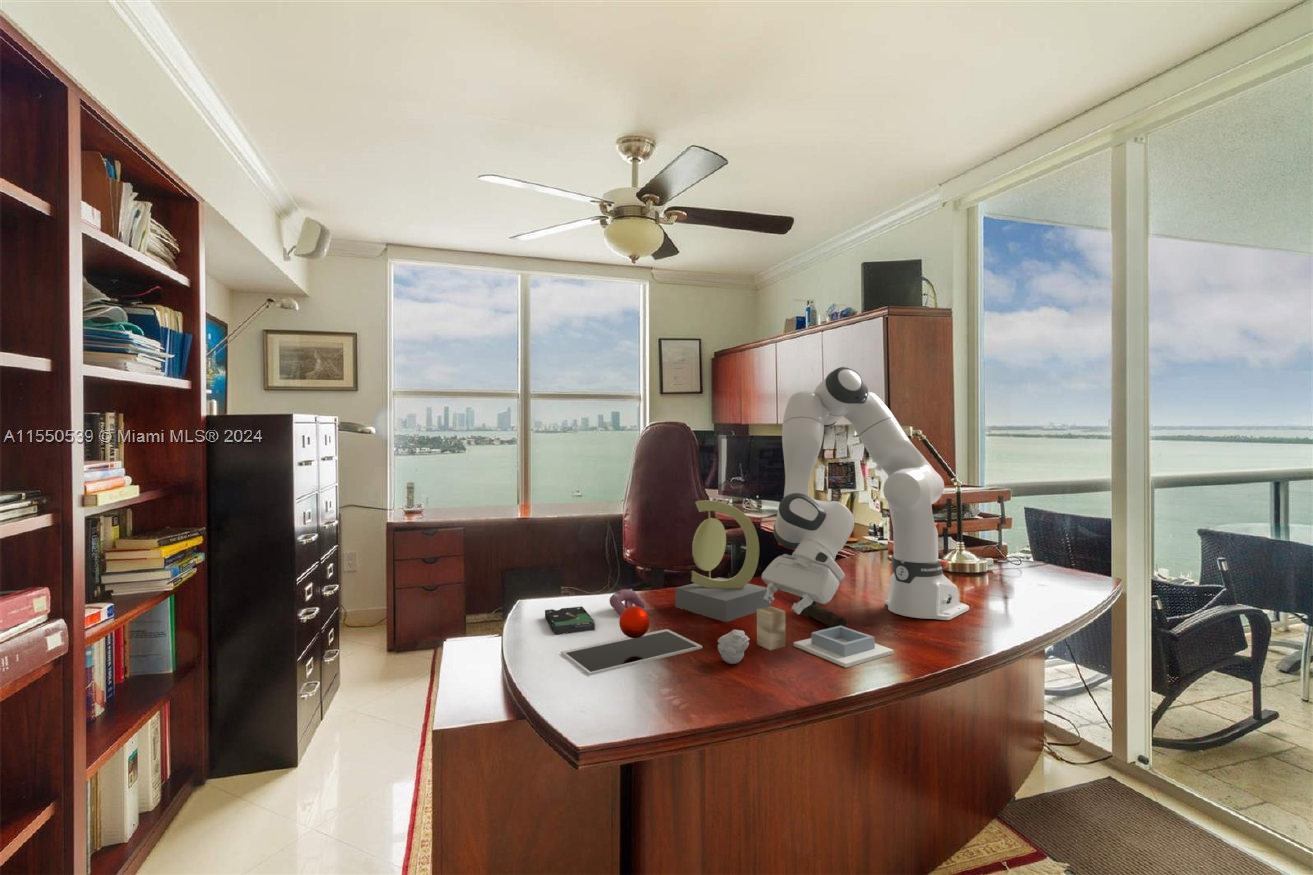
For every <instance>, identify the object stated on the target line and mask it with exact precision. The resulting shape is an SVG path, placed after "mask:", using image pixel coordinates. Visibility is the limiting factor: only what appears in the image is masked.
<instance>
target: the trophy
mask: <svg viewBox="0 0 1313 875" xmlns="http://www.w3.org/2000/svg"><path fill="white" fill-rule="evenodd" d="M695 506H696V508H697V511H698V512H699V513H702V512H708V518H707V519H704V520H703V521H702V522H700V524H699V526H698V527H697V528H696V530H695V533H694V535H693V540H692V544H691V547H692V548H691V550H692V551H691V552H692V553H691V555H692V559H693V562H694V563H695V566H696V567H697V568H698V569H700V571H707V572H708V576H705V575H703V574H700V573H698V572H696V571H694V570H692V572H691V580H690V581H691V582H692V583H690V584H686V585H682V586H678V587H675V597H674V598H675V602H674V603H675V605H674V606H675V608H676V607H678V608H677V609H679V608H680V610H683V609H685V610H684V611H686V610H688V611H687V612H689V611H691V612H690V613H693V614H697V615H700V614H701V615H700V616H704V617H707V618H711V619H713V618H714V619H713V620H717V621H721V622H723V623H724V622H725V623H728V622H731V621H734V619H735V620H737V618H738V619H741V618H744V617H746V615H747V616H749V615H748V614H750V615H753V614H756V613H757V609H761V608H766V607H771V604H769V603H766V602H765V601H764V596H765V595H766V593H767V586H766V587H765V586H761V585H757V584H751V583H750V582H751V580H752V579H753V577H754V575H755V573H756V570H757V569H758V564H759V560H760V559H759V558H760V542H759V541H760V540H759V536H758V533H757V530H756V528H755V525H754V523H753V522H752V520H751V519H750V518H749V517H748V516H747V514H745V513H744V512H743V511H741V510H740V509H739V508H737V507H735V506H733V505H731V504H728V503H725V502H722V501H717V500H706V499H705V500H697V501H695ZM711 512H718V513H723V514H724V515H725V514H726V515H727V516H729V517H731V518H733V520H735V521H736V522H737V524H738V525H739V526H740V528H741V530H742V531H743V534H744V537H745V543H746V544H745V545H746V548H745V557H744V558H745V559H744V561H743V565H742V567H741V569H740V570H739V571H738V573H737V574H736V575H734V576H733V577H731V578H724V577H715V578H712V577H711V575H712V574H711V572H712V570H714V569H715V568H717V566H719V564H720V563H721V561H722V560H723V556H724V555H725V552H726V546H727V534H726V529H725V526H724V524H723V523H722V521H720V520H719V519H718V518H714V517H711ZM755 612H756V613H755Z"/></svg>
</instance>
